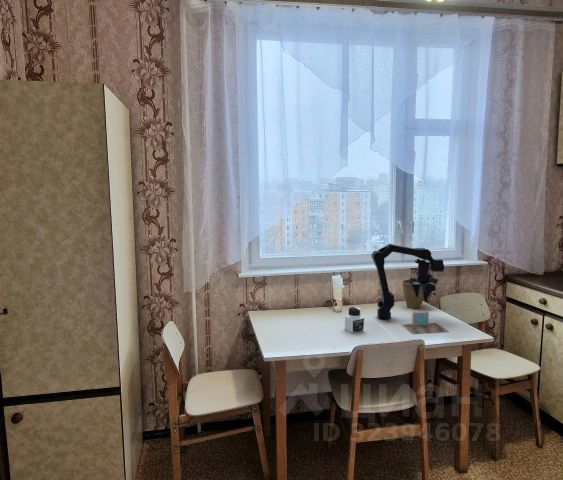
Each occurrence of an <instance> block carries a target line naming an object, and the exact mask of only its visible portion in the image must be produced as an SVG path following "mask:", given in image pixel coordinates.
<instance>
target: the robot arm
mask: <svg viewBox="0 0 563 480" xmlns="http://www.w3.org/2000/svg"><path fill="white" fill-rule="evenodd" d="M392 253H398V254H404V255H408V256H414V257H416V258H417V259H416V260H414V263H416V264H417V272H416V271H415V274H416V277H410V278H409V282H410V284H411V286H412V288H413V291H414V293H415V296H416V297H418V294H419V289H420V286H421V285H422V294H423V299H424V300H423V302H426V303H427V301H428V299H429V297H430V294H431V293H432V292H435V291H436V290H437V285H438V282H439V279H438V278H435V277H433V275H432V274H430V273H429V272H430V271H431V272H433V273H444V271H445V265H444V260H443V259H442V258H441V259H440V258H439V259H434V258H433V256H432V252H431V250H429V249H428V248H425V247H407V246H402V245H396V244H393V243H388V244H387V245H385V246H383V247H381V248H379V249H378V250H373V251H372V253H371V259H372V261H373V263H374V266H375V268H376V272H377V276H378V280H379V285H380V290H381V295H380V301H378V302H377V304H376V306H377V312H376V314H377V315H376V318H377V319H378V320H380V321H389V320H391V318H392V312H391V310H392V308H393V307H394V306H395V303H396V300H395V296H394V293H393V292H390V289H389V283H388V279H387V275H386V270H385V262H386V261H385V259H386V258H387V257H389V256H390V254H392ZM427 283H428V284H427Z"/></svg>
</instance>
